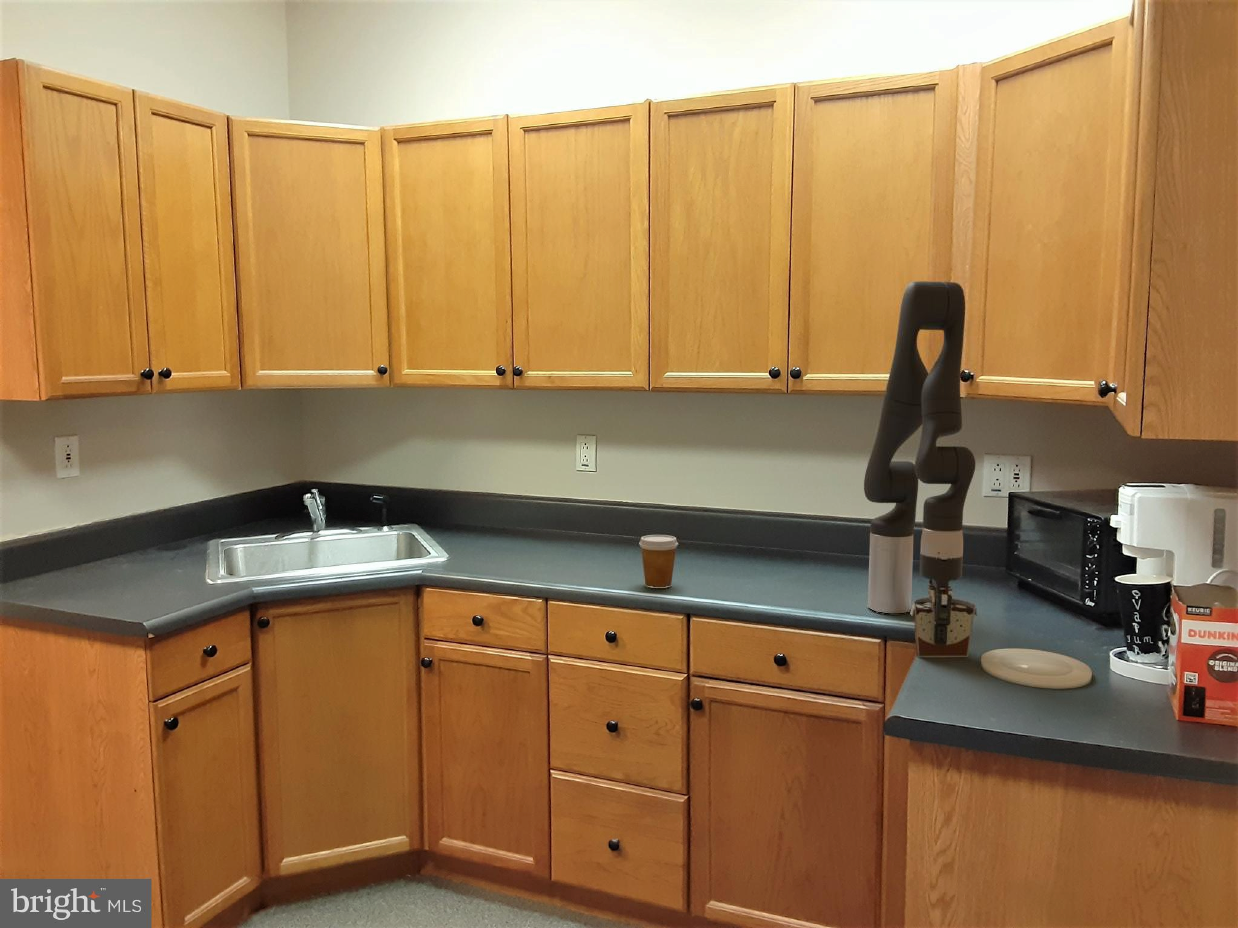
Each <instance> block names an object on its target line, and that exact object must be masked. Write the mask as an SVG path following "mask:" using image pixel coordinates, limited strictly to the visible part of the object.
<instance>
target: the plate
mask: <svg viewBox="0 0 1238 928" xmlns="http://www.w3.org/2000/svg"><path fill="white" fill-rule="evenodd" d="M980 659H981V660H980V667H981V668H982V670H984V671H985V673H987V674H988V675H991V676H993V677H995V678H998V679H1000V680H1003V681H1005V682H1009V683H1012V684H1016V685H1022V686H1026V687H1032V688H1040V689H1056V690H1057V689H1059V690H1061V689H1063V690H1064V689H1076V688H1081V687H1083V686H1087V685H1089V684H1090V683H1091V681H1092V676H1093V675H1092V674H1093V672H1092V669H1091V667H1089V666H1088V664H1086V663H1084V662H1082V661H1081V660H1078V659H1076V658H1073V657H1070V656H1067V655H1064V654H1061V653H1056V652H1051V651H1045V650H1039V649H1031V648H999V649H993V650H989V651H986V652H985V653H983V654H982V655H981V658H980Z"/></svg>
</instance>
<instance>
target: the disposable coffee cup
mask: <svg viewBox="0 0 1238 928" xmlns="http://www.w3.org/2000/svg"><path fill="white" fill-rule="evenodd" d="M638 545H639V547H640V549H641V558H642V568H643V575H644V576H643V577H644V582H645V584H646V585H647V586H653V587H666V586H670V585H671V586H672V582H673V574H674V565H675V559H676V551H677V547H678V545H679V542H678V541H677V537H675V536H673V535H667V534H649V535H643V536H641V538H640V541H639V543H638ZM646 585H645V586H646Z"/></svg>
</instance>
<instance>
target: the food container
mask: <svg viewBox="0 0 1238 928" xmlns="http://www.w3.org/2000/svg"><path fill="white" fill-rule="evenodd" d="M977 609H978V608H976V604H974V603H973V602H969V601H966V600H963V599H962V600H961V599H958V598H952V599H951V615H950V621H951V623H950V625H948V626H947V644H946V645H936V644H935V643H934V612H932V608H931V603H929V597H921V598H917V599H915V600H913V603H912V604H911V611H910V612H909V613H910V615H911V616H912V617H913V622H914V634H915V635H914V637H915V651H916V653H915V654H916V656H917V657H918V658H968V657H969V652H970V644H971V637H972V630H973V626H974V625H973V624H974V617H975V616H976V617H977V616H978V611H977ZM939 618H945V614H944V613H940V614H939Z"/></svg>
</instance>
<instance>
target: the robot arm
mask: <svg viewBox="0 0 1238 928" xmlns="http://www.w3.org/2000/svg"><path fill="white" fill-rule="evenodd" d="M965 296H966V295H965V292H964V289H963V287H962V286H961V284H959V283H957V282H954V281H953V282H952V281H926V280H921V281H920V280H918V281H912V282H910V283H909V284H907V286H906V288H905V290H904V293H903V296H902V299H901V303H900V305H901V306H900V312H899V317H898V324H897V325H898V326H897V332H896V333H897V334H896V341H895V348H894V353H893V358H892V359H893V360H892V362H891V367H890V372H889V374H888V375H889V377H888V379H887V384H886V387H885V393H884V396H883V400H882V405H881V406H882V407H881V412H880V419H879V423H878V428H877V433H876V437H875V440H874V443H873V447H872V450H871V452H870V456H869V459H868V462H867V465H866V470H865V473H864V480H863V492H864V495H865V498H866V499H867V500H868V501H869V502H871V503H876V504H894V507H893V508H892V509H891V510H889V511H888V512H886V513H884V514H882V515H880V516H878V517H877V516H876V517H875V518H873V519H872V520H871V522H870V525H869V533H870V534H869V555H868V556H869V559H868V561H869V562H868V563H869V564H868V589H867V591H868V592H867V608H868V607H869V608H870V609H872V610H875V611H878V612H886V613H904V612H909V611H910V610H911V608H912V587H913V586H912V585H913V584H912V583H913V564H914V563H913V562H914V561H913V558H914V557H913V556H914V534H915V531H914V530H915V525H916V516H917V502H918V493H919V492H918V491H919V481H920V482H921V483H922V484H926V485H950V486H949V488H948V489H947V490H946V492H944V493H942V494H939V495H934V496H930V497H927V498H926V499H924V502H923V508H922V509H923V510H922V513H923V514H922V515H923V516H922V532H921V537H920V555H919V575H920V576H921V577H923V578H924V579H928V583H929V584H928V587H927V592H928V598H929V603H931V608H932V612H934V643H935V644H936V645H946V644H947V626H948V625H950V623H951V621H950V615H951V599H953V588H951V585H950V583H949V582H951V581H958V580H960V579H961V578H962V577H963V562H964V561H963V560H964V559H963V558H964V556H963V555H964V536H963V521H964V520H963V518H964V507H965V503H966V498H967V495H968V491H969V489H970V485H971V483H972V481H973V478H974V474H975V471H976V459H975V458H976V457H975V455H974V453H973V452H972V450H971V449H970V448H968V447H966V446H951V445H950V446H945V445H944V446H940V445H939V446H937V441H938V439H940V438H942V437H948V436H952V435H955V434H958V433H959V432H961V430H962V427H963V415H962V399H961V398H962V397H961V369H962V362H963V361H962V360H963V349H964V347H963V346H964V337H965V334H964V333H965V321H966V298H965ZM920 330H922V331H923V330H924V331H943V343H942V348H941V351H940V352H939V355H938V357H937V359H936V361H935V362H934V364H933V366H932V368H931V369H930V371H929V372H928V369H927V367H926V366H925V364H924V362H923V360H922V358H921V355H920V352H919V348H918V336H919V332H920ZM921 426H922V427H921ZM920 428H921V435H920V442H919V445H918V449H917V452H916V453H917V454H916V457H915V461H914V462H912V461H908V460H907V461H906V460H893V458H894V456H895V454H896V453H897V451H898V450H899V449H900V447H902V446H903V444H904V443H905V442H906V441H907V440H909V439H910V438H911V437H912V436H913V435H914V434H915V433H916V431H918V430H919V429H920ZM870 609H869V610H870ZM872 610H871V611H872ZM878 612H877V613H878ZM910 612H911V611H910ZM910 612H909V613H910ZM940 613H944V614H945V618H939V614H940Z"/></svg>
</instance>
